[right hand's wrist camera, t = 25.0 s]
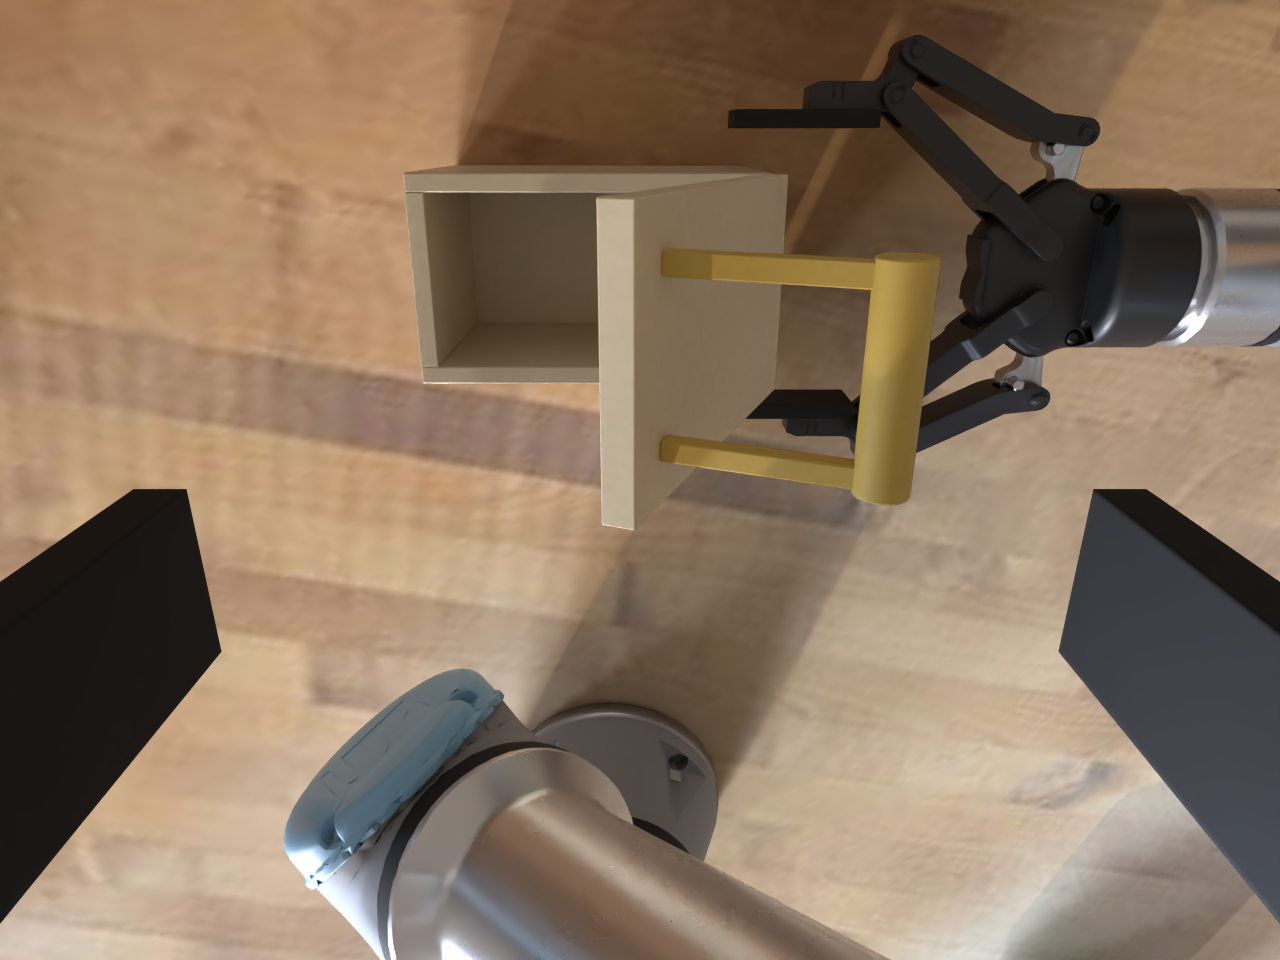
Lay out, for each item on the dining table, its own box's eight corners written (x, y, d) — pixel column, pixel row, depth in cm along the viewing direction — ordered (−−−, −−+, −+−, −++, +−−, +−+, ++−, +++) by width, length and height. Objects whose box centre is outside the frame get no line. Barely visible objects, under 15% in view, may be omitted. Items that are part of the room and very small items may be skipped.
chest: (467, 333, 50) (422, 383, 39) (455, 165, 46) (402, 172, 36) (736, 333, 50) (761, 384, 39) (744, 165, 46) (773, 173, 36)
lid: (600, 525, 25) (893, 578, 22) (595, 196, 22) (941, 206, 19) (751, 386, 39) (943, 407, 36) (763, 173, 36) (975, 177, 33)
